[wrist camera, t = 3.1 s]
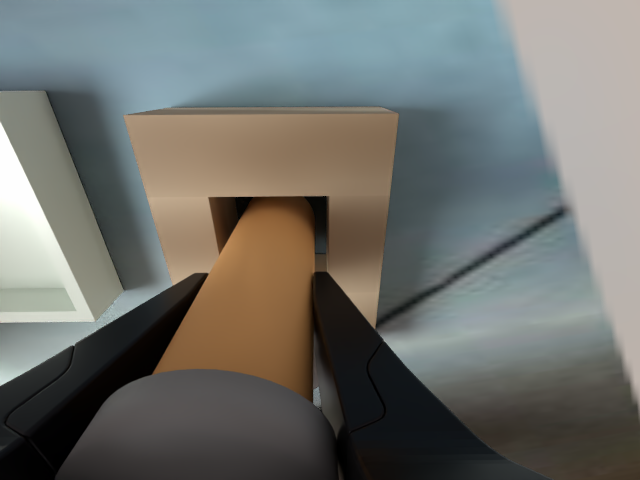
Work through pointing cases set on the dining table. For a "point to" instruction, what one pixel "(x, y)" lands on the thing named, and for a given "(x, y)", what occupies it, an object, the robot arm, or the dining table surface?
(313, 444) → the pin
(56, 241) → the tray
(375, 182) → the block
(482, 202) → the dining table surface
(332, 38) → the dining table surface
